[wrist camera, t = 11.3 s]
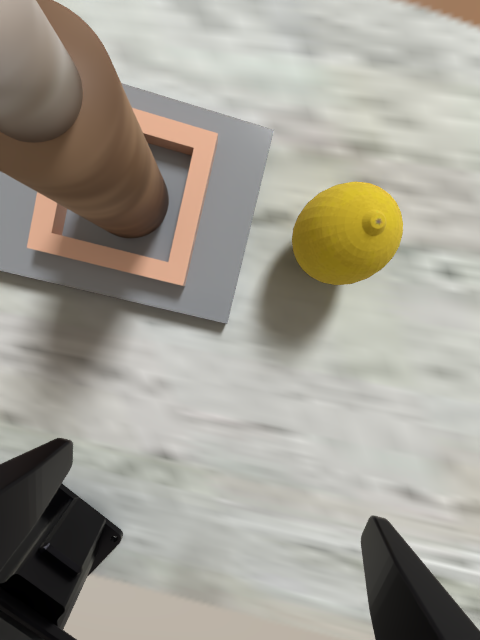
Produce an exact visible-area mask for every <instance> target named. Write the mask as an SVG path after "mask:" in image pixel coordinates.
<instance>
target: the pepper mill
mask: <svg viewBox="0 0 480 640" xmlns="http://www.w3.org/2000/svg"><path fill="white" fill-rule="evenodd" d="M0 171H1V172H3V173H4V174H6V175H8V176H10V177H12V178H13V179H15V180H17V181H19V182H20V183H22V184H24V185H26V186H28V187H29V188H31V189H33V190H35V191H37V192H38V193H40V194H42V195H44V196H45V197H47V198H49V199H51V200H53V201H54V202H56V203H58V204H60V205H61V206H63V207H65V208H67V209H69V210H70V211H72V212H74V213H76V214H78V215H79V216H81V217H83V218H85V219H86V220H88V221H90V222H92V223H94V224H95V225H97V226H99V227H101V228H103V229H104V230H106V231H108V232H110V233H112V234H114V235H116V236H119V237H123V238H139V237H143V236H146V235H148V234H150V233H151V232H153V231H154V230H155V229H157V228H158V227H159V225H160V224H161V223H162V222H163V220H164V218H165V216H166V214H167V210H168V205H169V196H168V190H167V187H166V184H165V182H164V179H163V177H162V175H161V173H160V170H159V168H158V166H157V163H156V161H155V159H154V157H153V154H152V152H151V150H150V148H149V145H148V143H147V141H146V139H145V136H144V134H143V132H142V129H141V127H140V125H139V123H138V120H137V118H136V116H135V114H134V111H133V109H132V107H131V105H130V102H129V100H128V98H127V96H126V93H125V91H124V89H123V86H122V84H121V82H120V80H119V77H118V75H117V73H116V71H115V68H114V66H113V64H112V62H111V59H110V57H109V55H108V53H107V51H106V49H105V47H104V45H103V44H102V42H101V41H100V39H99V38H98V36H97V35H96V34H95V32H94V31H93V30H92V29H91V28H90V27H89V25H88V24H87V23H85V22H84V21H83V20H82V19H81V18H80V17H79V16H78V15H76V14H75V13H74V12H72V11H71V10H70V9H68V8H66V7H64V6H63V5H61V4H59V3H57V2H55V1H53V0H0Z"/></svg>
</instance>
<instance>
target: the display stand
mask: <svg viewBox="0 0 480 640" xmlns="http://www.w3.org/2000/svg"><path fill="white" fill-rule="evenodd" d="M121 84H122V83H121ZM122 86H123V89H124V91H125V93H126V96H127V98H128V100H129V102H130V105H131V107H132V109H133V111H134V114H135V116H136V118H137V120H138V123H139V125H140V127H141V129H142V132H143V134H144V136H145V139H146V141H147V143H148V145H149V148H150V150H151V152H152V154H153V157H154V159H155V161H156V163H157V166H158V168H159V170H160V173H161V175H162V177H163V179H164V182H165V184H166V187H167V190H168V196H169V205H168V210H167V214H166V216H165V218H164V220H163V222H162V223H161V224H160V225H159V227H158V228H157V229H155V230H154V231H153V232H151V233H150V234H148V235H146V236H143V237H139V238H123V237H119V236H116V235H114V234H112V233H110V232H108V231H106V230H104V229H103V228H101V227H99V226H97V225H95V224H94V223H92V222H90V221H88V220H86V219H85V218H83V217H81V216H79V215H78V214H76V213H74V212H72V211H70V210H69V209H67V208H65V207H63V206H61V205H60V204H58V203H56V202H54V201H53V200H51V199H49V198H47V197H45V196H44V195H42V194H40V193H38V192H37V191H35V190H33V189H31V188H29V187H28V186H26V185H24V184H22V183H20V182H19V181H17V180H15V179H13V178H12V177H10V176H8V175H6V174H4V173H3V172H1V171H0V271H4V272H8V273H12V274H17V275H21V276H25V277H29V278H34V279H38V280H42V281H47V282H51V283H55V284H59V285H64V286H68V287H72V288H76V289H81V290H85V291H89V292H93V293H98V294H102V295H106V296H110V297H115V298H119V299H123V300H128V301H132V302H136V303H140V304H145V305H149V306H153V307H157V308H162V309H166V310H170V311H174V312H179V313H183V314H187V315H191V316H196V317H200V318H204V319H209V320H213V321H217V322H221V323H226V324H227V322H228V318H229V314H230V310H231V305H232V301H233V297H234V293H235V289H236V285H237V281H238V276H239V272H240V268H241V264H242V260H243V256H244V252H245V247H246V243H247V239H248V235H249V231H250V227H251V223H252V218H253V214H254V210H255V206H256V202H257V198H258V194H259V189H260V185H261V181H262V177H263V173H264V169H265V165H266V160H267V156H268V152H269V148H270V144H271V140H272V136H273V131H274V130H273V129H270V128H266V127H263V126H260V125H257V124H253V123H250V122H247V121H243V120H240V119H237V118H234V117H230V116H227V115H224V114H220V113H217V112H214V111H211V110H207V109H204V108H201V107H198V106H194V105H191V104H188V103H184V102H181V101H178V100H175V99H171V98H168V97H165V96H162V95H158V94H155V93H152V92H148V91H145V90H142V89H139V88H135V87H132V86H129V85H126V84H122Z"/></svg>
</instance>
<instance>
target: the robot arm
mask: <svg viewBox="0 0 480 640" xmlns="http://www.w3.org/2000/svg"><path fill="white" fill-rule="evenodd" d="M72 462H73V443H72V441H71V440H67V439H63V438H57V439H54V440H52V441H50V442H48V443H46V444H43V445H41V446H39V447H37V448H35V449H32V450H30V451H28V452H26V453H24V454H22V455H19V456H17V457H15V458H13V459H11V460H8V461H6V462H4V463H2V464H0V640H77V639H75V638H73V637H72V636H71V635H69V634H68V633H66V632H65V631H64V630H63V629H64V626H65V624H66V622H67V620H68V617H69V615H70V613H71V611H72V608H73V606H74V604H75V602H76V600H77V598H78V595H79V593H80V591H81V589H82V587H83V584H84V582H85V580H86V578H87V576H88V575H89V574H90V573H91V572H92V571H93V570H94V569H95V568H96V567H97V566H98V565H99V564H100V563H101V562H102V561H103V560H104V559H105V558H106V557H107V555H108V554H109V553H110V552H111V551H112V550H113V549H114V548H115V547H116V546H117V545H118V544H119V543H120V541H121V539H122V536H123V532H122V531H121V529H119V528H118V527H117V526H115V525H114V524H113V523H112V522H110V521H109V520H108V519H106V518H105V517H104V516H103V515H101V514H100V513H99V512H98V511H96V510H95V509H94V508H92V507H91V506H90V505H89V504H87V503H86V502H85V501H83V500H82V499H81V498H80V497H78V496H77V495H76V494H74V493H73V492H72V491H71V490H69V489H68V488H67V487H65V486H64V485H63V484H62V482H63V480H64V479H65V477H66V475H67V474H68V472H69V470H70V468H71V466H72ZM113 536H117V538H115V537H113ZM361 548H362V556H363V564H364V572H365V580H366V588H367V596H368V603H369V610H370V615H371V620H372V625H373V629H374V634H375V639H376V640H480V631H479V630H478V628H477V627H476V626H475V625H474V624H473V622H472V621H471V620H470V619H469V618H468V616H467V615H466V614H465V613H464V611H463V610H462V609H461V608H460V607H459V605H458V604H457V603H456V602H455V601H454V599H453V598H452V597H451V596H450V595H449V593H448V592H447V591H446V590H445V589H444V587H443V586H442V585H441V584H440V583H439V581H438V580H437V579H436V578H435V577H434V575H433V574H432V573H431V572H430V570H429V569H428V568H427V567H426V566H425V564H424V563H423V562H422V561H421V560H420V558H419V557H418V556H417V555H416V554H415V552H414V551H413V550H412V549H411V548H410V546H409V545H408V544H407V543H406V542H405V540H404V539H403V538H402V537H401V536H400V534H399V533H398V532H397V531H396V530H395V528H394V527H393V526H392V525H391V523H390V522H389V521H388V520H387V519H385V518H382V517H378V516H371V517H370V518H369V520H368V522H367V524H366V526H365V529H364V531H363V533H362V536H361Z"/></svg>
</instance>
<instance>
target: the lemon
mask: <svg viewBox="0 0 480 640" xmlns="http://www.w3.org/2000/svg"><path fill="white" fill-rule="evenodd" d="M402 233H403V221H402V215H401V212H400V209H399V207H398V205H397V203H396V202H395V200H394V199H393V198H392V197H391V195H390V194H388V193H387V192H386V191H384V190H383V189H381V188H380V187H378V186H375V185H373V184H370V183H363V182H349V183H344V184H339V185H336V186H333V187H331V188H329V189H327V190H325V191H322V192H321V193H319V194H318V195H317V196H315V197H314V198H313V199H312V200H311V201H310V202H308V203H307V205H306V206H305V207H304V209H303V210H302V212H301V213H300V214H299V216H298V218H297V221H296V223H295V226H294V229H293V236H292V245H293V252H294V255H295V258H296V260H297V262H298V264H299V265H300V266H301V268H302V269H303V270H304V271H305V272H306V273H307V274H308V275H309V276H311V277H312V278H314V279H316V280H318V281H320V282H323V283H328V284H333V285H344V284H352V283H355V282H358V281H361V280H364V279H367V278H369V277H370V276H372V275H373V274H375V273H376V272H378V271H379V270H381V269H382V268H383V267H384V266H385V265H386V264H387V263H388V262H389V261H390V260H391V259H392V257H393V256H394V254H395V253H396V251H397V249H398V247H399V245H400V241H401V238H402Z"/></svg>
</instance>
